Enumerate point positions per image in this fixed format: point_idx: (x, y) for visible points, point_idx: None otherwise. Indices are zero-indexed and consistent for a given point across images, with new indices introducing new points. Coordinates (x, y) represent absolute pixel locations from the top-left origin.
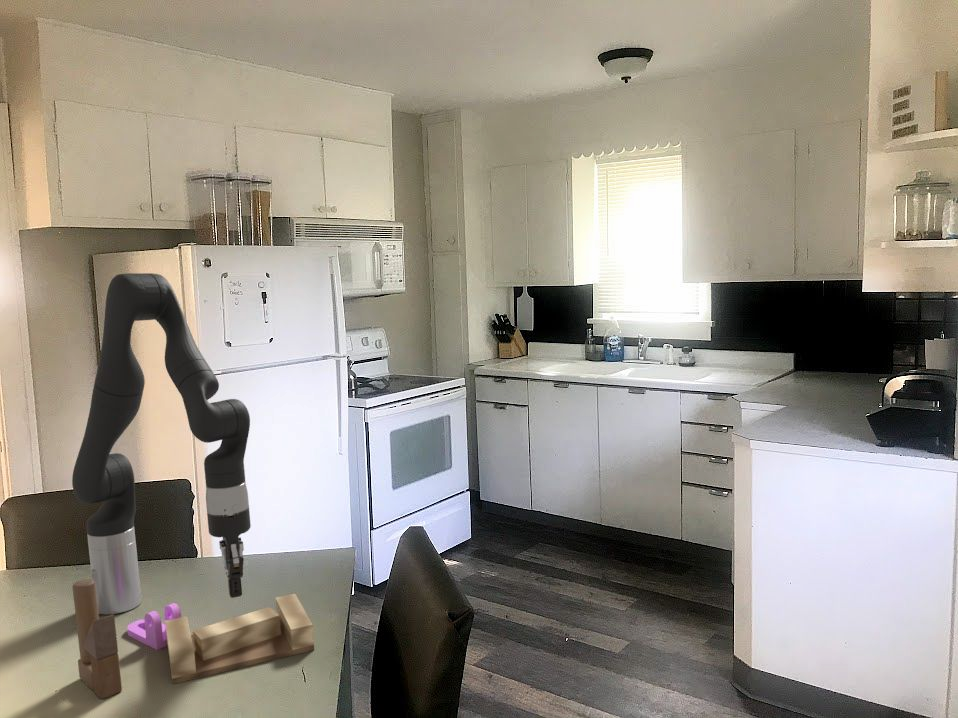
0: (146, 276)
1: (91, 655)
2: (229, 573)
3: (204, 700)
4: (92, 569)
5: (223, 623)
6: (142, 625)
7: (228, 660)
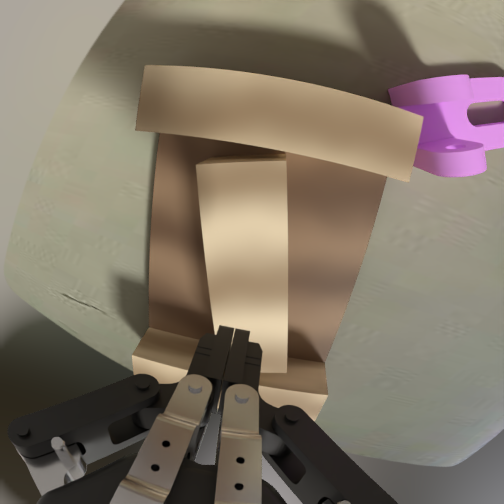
0: None
1: None
2: (89, 393)
3: (75, 128)
4: None
5: (270, 254)
6: None
7: (174, 209)
